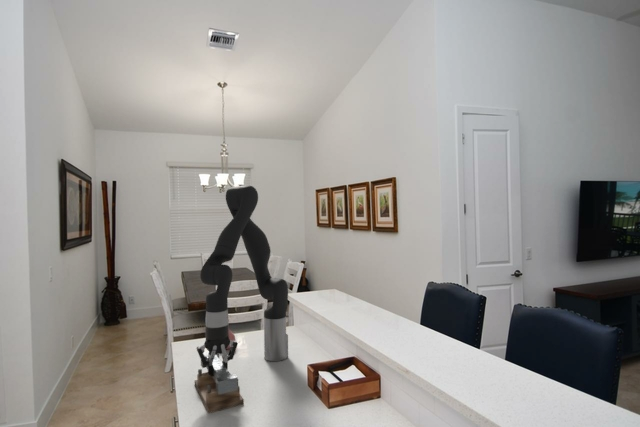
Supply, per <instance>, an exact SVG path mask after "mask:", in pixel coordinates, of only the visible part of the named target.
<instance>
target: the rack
mask: <svg viewBox="0 0 640 427" xmlns="http://www.w3.org/2000/svg"><path fill="white" fill-rule="evenodd" d="M197 373H198V374H197V375H196V376H197V379H196V380H194V386H195V388H196V390H197V393H198V394H199V396H200V399H201V401H202V403H203V404H204V407H205V409H206V411H207V413H208V414H210V413H214V412H218V411H221V410H225V409H229V408H232V407H236V406H241V405H244V402H245V401H244V397H243V396H242V395H241V389H240V385H238V390H237V391H233V392H229V393H224V394H220V395H218V393H217V392H216V382H215V381H214V379H213V378H212V377H211V376H210V375H209V374H208V371H206V372H203V368H202V369H201V368H200V369H198V370H197Z"/></svg>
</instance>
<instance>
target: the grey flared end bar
mask: <svg viewBox="0 0 640 427" xmlns="http://www.w3.org/2000/svg"><path fill="white" fill-rule="evenodd" d="M203 354H204V357H205V359H206V360H208V354H209V352H206V353H205V352H204V353H203ZM212 365H213V376H212V378H213V379H214V381H215V382H216V392H217V393H218V395H220V394H224V393H229V392H233V391H237V390H238V386H239V377H238V376H237V374H236V373H232V374H231V373H230V371H229V370H227V369H226V367H225V366H224V365H223V363H222V361H221V359H220V354H216V355H215V357H214V359H213V364H212ZM200 366H201V368H202V369H204V368H206V369H207V370H208V365H204V364H203V363H202V361H201V360H200Z"/></svg>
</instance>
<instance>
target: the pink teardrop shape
mask: <svg viewBox="0 0 640 427" xmlns="http://www.w3.org/2000/svg"><path fill="white" fill-rule="evenodd" d="M229 339H230V340H231V341H233V340H235V341H236V336H235V334H234V333H233V332H232V330H230V328H229ZM226 349H227V350H230V344H229V345H228V347H227V348H226Z"/></svg>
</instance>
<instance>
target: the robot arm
mask: <svg viewBox="0 0 640 427" xmlns="http://www.w3.org/2000/svg"><path fill="white" fill-rule="evenodd" d="M258 201H259V194H258V191H257V189H256V188H255V187H254V186H253V185H241V186H233V187H229V188H228V189H227V190H226V192H225V202H226V205H227V208H228V210H229V212H230V213H231V216H232V219H231V221H229V222H228V224H227V225H226V226H225V227H224V228H223V230H222V231H221V233H220V234H219V236H218V237H217V238H218V239H217V241H216V244H215V246H214V250H213V251H212V252H211V254H210V255H209V257H208V258H207V260H206V261H205V262H204V264H203V265H202V268H201V270H200V276H199V277H200V280H201V282H202V283H203V284H204V285H207V286H217V287H216V290H215V291H211V292H208V293H207V294H206V295H205V341H204V344H203V345H201V346H196V348H195V349H196V351H197V353H198V356H199V359H200V362H201V361H202V363H203V364H204V365H208V369H207V372H208V374H209V375H210V376H211V377H212V376H213V365H212V364H213V359H214V357H215V355H216V354H219V355H221V359H222V361H221V362H222V363H223V365H224V366H225V367H226V369H227V370H228V369H229V368H228V367H229V366H228V362H230V360H233V359H234V357H235V354H236V350H237V349H238V348H237V347H238V344H239V343H238V342H237V341H236V339H235V340H233V341H231V340H230V339H229V329H230V328H229V327H230V326H229V325H230V324H229V322H230V319H229V310H228V307H229V306H228V297H229V292H230V288H231V284H232V280H233V271H232V268H231V267H230V266H229V265H228V264H224V263H226V262H230V261H232V260H233V259H234V256H235V253H236V251H237V248H238V244H239V242H240V240H242V241H243V246H244V248H245V250H246V253H247V255H248V258H249V260H250V263H251V267H252V269H253V272H254V275H255V279H256V280H255V281H256V283H257V287H258V288H257V289H258V291H259V294H260V296H261V297H262V298H263V299H264V300H268V301H272V305H271V307H268V308H266V309H264V312H263V335H264V336H263V338H264V339H263V343H264V344H263V346H264V347H263V349H264V351H263V352H264V354H263V355H264V356H263V357H264V360H266V361H267V362H279V361H283V360H285V359H287V358H289V335H288V334H287V312H288V311H287V310H288V307H289V306H288V302H289V299H288V298H289V286H288V283H287V280H286V279H285V280H284V278H283V279H282V278H276V277H272V276H271V273H270V270H269V268H268V266H269V262H270V259H271V258H270V257H271V253H272V252H271V251H272V250H271V246H270V243H269V241H268V237H267V235H266V234H265V232H264V231H263V230H262V229H261V228H260V227H259V226H258V225H257V224H256V223H255V222H254V220H252V218H251V217H252V215H253V213H254V211H255V210H256V207H257V205H258ZM241 238H242V239H241ZM229 344H230V348H229V349H228V350H229V351H228V354H227V350H226V348H227V347H228V345H229ZM205 350H207V351H208V353H209V354H208V360H206V359H205V357H204V353H205ZM228 371H229V370H228Z"/></svg>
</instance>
